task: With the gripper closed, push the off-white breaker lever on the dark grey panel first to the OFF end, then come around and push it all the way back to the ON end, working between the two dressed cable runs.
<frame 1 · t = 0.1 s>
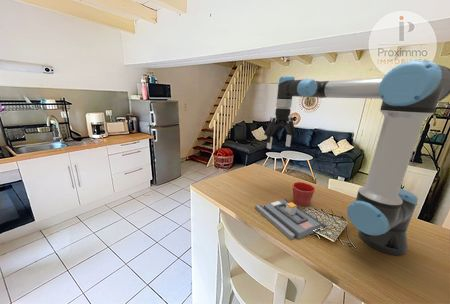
hand: (278, 147, 103), 28 cm above the breakfast bar, fingers open, 13 cm apart
breaker panel: (289, 219, 86), on the breakfast bar
gray slab: (272, 221, 84), on the breakfast bar
flower pot: (300, 202, 101), on the breakfast bar
lever: (290, 209, 85), point 5 cm above the breakfast bar, slide at 0.0 cm
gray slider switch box: (301, 214, 90), on the breakfast bar
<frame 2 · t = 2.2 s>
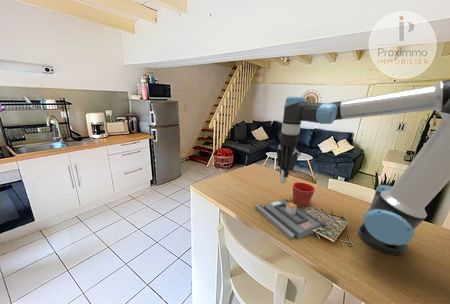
hand: (282, 182, 88), 16 cm above the breakfast bar, fingers closed
nothing on the breakfast bar moved.
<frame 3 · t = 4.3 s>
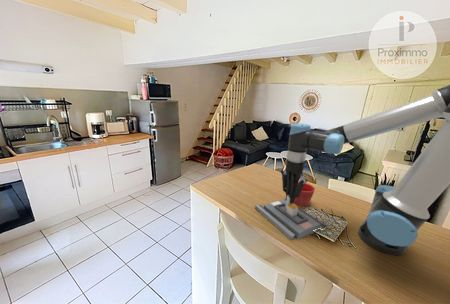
hand: (288, 207, 86), 5 cm above the breakfast bar, fingers closed
lever: (292, 210, 84), point 5 cm above the breakfast bar, slide at -0.9 cm, touching gripper
everything else where it was.
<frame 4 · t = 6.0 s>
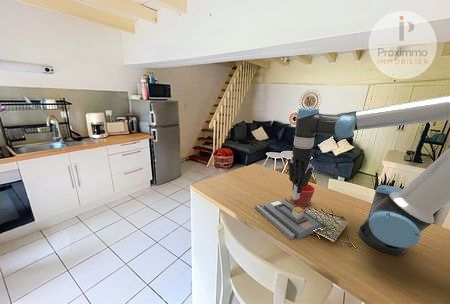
hand: (295, 198, 82), 12 cm above the breakfast bar, fingers closed
lever: (297, 213, 82), point 5 cm above the breakfast bar, slide at -3.8 cm
everything else where it was.
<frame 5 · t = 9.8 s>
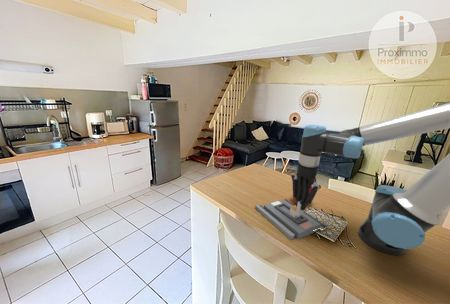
hand: (299, 214, 81), 6 cm above the breakfast bar, fingers closed
lever: (295, 212, 83), point 5 cm above the breakfast bar, slide at -2.6 cm, touching gripper
everything else where it was.
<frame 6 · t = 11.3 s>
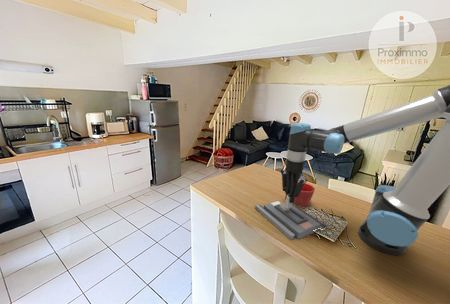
hand: (288, 207, 86), 5 cm above the breakfast bar, fingers closed
lever: (284, 204, 88), point 5 cm above the breakfast bar, slide at 3.8 cm, touching gripper
everything else where it was.
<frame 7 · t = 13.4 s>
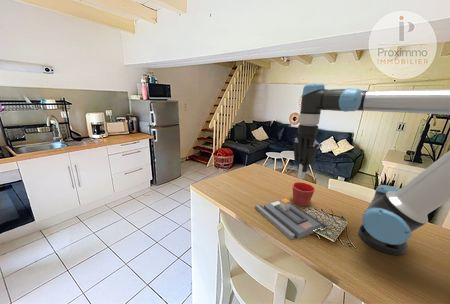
hand: (300, 178, 82), 21 cm above the breakfast bar, fingers closed
lever: (284, 204, 88), point 5 cm above the breakfast bar, slide at 3.8 cm
everything else where it was.
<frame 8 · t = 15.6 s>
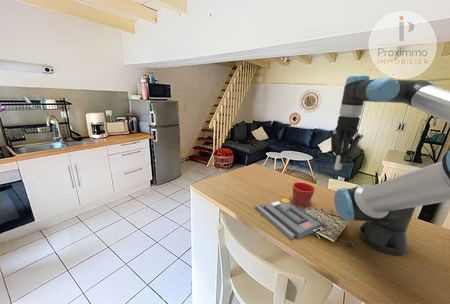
hand: (337, 169, 83), 24 cm above the breakfast bar, fingers closed
nothing on the breakfast bar moved.
at the end: lever slide at 3.8 cm; lever tilted 0° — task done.
